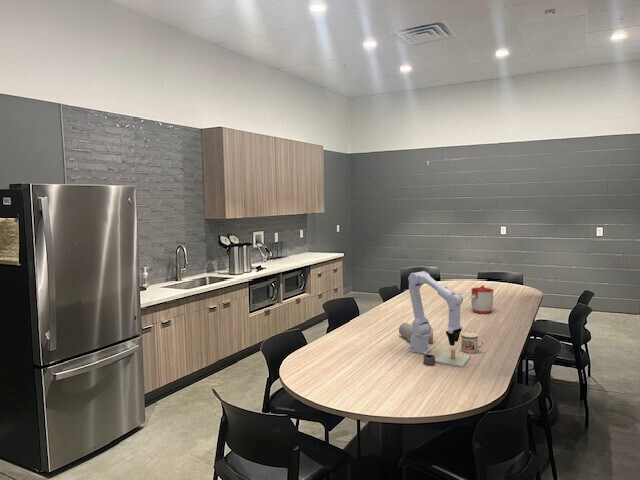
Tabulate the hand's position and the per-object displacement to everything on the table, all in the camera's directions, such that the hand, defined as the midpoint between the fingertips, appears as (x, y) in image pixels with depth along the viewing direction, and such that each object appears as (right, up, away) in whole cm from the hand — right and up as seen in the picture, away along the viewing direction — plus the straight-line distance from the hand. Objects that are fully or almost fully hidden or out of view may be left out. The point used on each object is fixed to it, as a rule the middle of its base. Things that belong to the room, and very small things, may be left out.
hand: (453, 343), depth 244 cm
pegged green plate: (0, -10, +3) cm, 10 cm away
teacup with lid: (+15, -8, +17) cm, 24 cm away
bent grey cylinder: (-12, -7, +39) cm, 41 cm away
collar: (-13, -10, -2) cm, 17 cm away
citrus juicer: (+49, 0, +103) cm, 114 cm away
